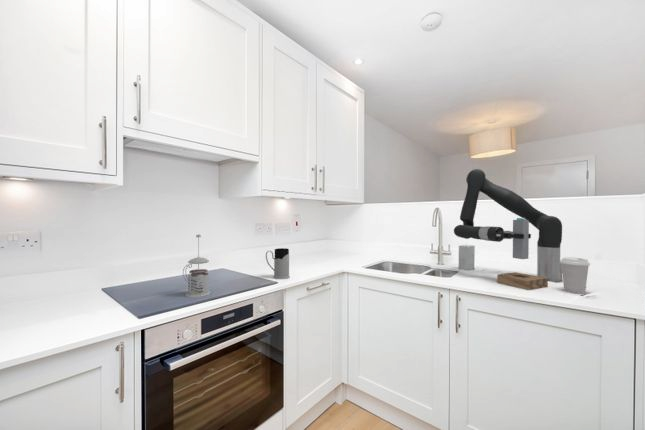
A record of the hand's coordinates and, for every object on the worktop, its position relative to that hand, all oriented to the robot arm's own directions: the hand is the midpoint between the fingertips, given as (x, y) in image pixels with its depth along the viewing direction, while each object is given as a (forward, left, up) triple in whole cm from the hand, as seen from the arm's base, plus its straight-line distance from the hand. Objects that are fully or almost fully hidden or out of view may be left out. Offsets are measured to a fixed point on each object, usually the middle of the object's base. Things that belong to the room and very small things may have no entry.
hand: (526, 236), depth 127 cm
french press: (+145, +27, -24) cm, 149 cm away
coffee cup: (-15, +7, -24) cm, 29 cm away
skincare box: (+9, -43, -24) cm, 51 cm away
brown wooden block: (+1, -2, -24) cm, 24 cm away
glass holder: (+120, -8, -24) cm, 123 cm away
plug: (+1, -2, -10) cm, 11 cm away
